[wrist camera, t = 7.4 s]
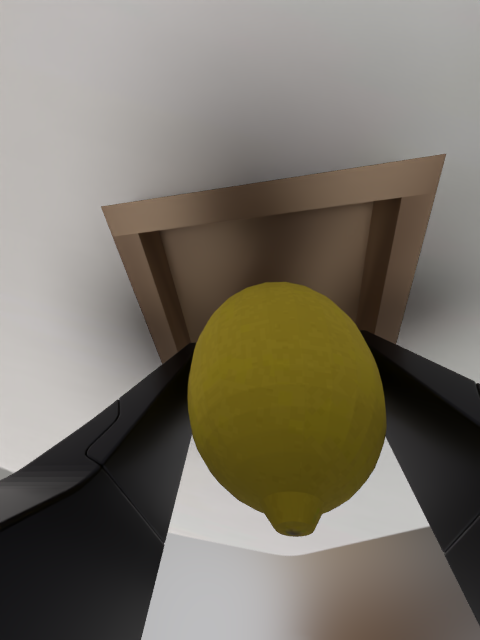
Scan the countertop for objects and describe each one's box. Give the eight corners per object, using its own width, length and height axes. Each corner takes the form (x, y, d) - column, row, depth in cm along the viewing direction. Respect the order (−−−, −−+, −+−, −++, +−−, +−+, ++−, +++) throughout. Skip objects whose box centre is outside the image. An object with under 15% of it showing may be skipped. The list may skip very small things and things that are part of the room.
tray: (398, 162, 9) (493, 144, 5) (360, 373, 14) (394, 432, 11) (134, 203, 10) (70, 209, 6) (192, 382, 15) (173, 438, 12)
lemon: (190, 294, 11) (66, 495, 4) (299, 228, 9) (454, 376, 2) (250, 371, 13) (243, 585, 6) (347, 330, 11) (499, 570, 4)
